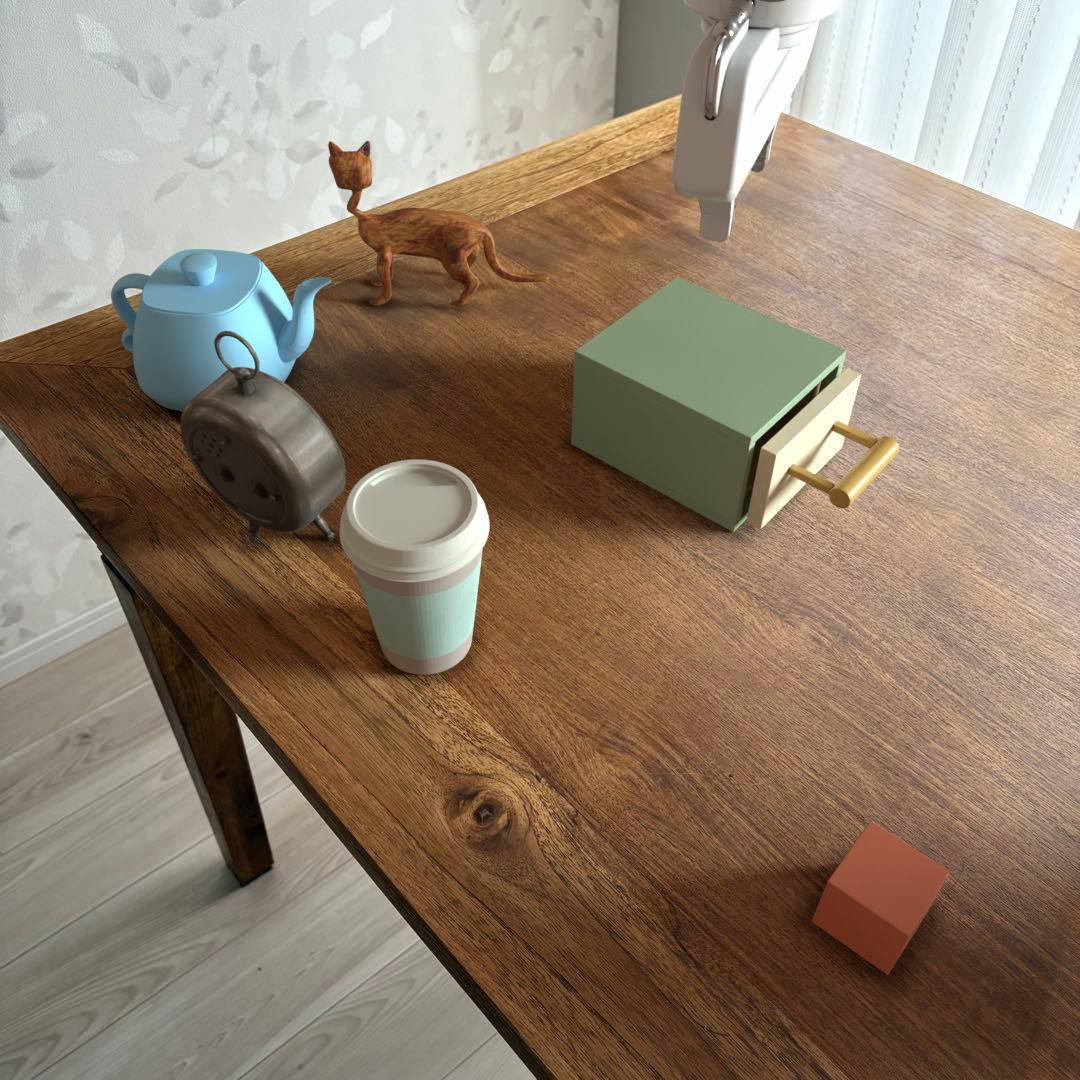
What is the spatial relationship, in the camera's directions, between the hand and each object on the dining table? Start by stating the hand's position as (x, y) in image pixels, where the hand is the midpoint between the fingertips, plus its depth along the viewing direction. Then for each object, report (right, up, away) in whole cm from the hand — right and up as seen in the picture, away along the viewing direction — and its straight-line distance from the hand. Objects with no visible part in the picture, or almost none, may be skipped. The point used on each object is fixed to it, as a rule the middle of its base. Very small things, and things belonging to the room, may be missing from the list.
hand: (735, 199), depth 71 cm
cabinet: (0, -14, +14) cm, 20 cm away
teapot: (-37, -9, +19) cm, 42 cm away
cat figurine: (-21, 0, +28) cm, 35 cm away
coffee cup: (-20, -28, 0) cm, 34 cm away
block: (+5, -41, -13) cm, 44 cm away
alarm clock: (-31, -21, +7) cm, 38 cm away
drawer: (+3, -16, +11) cm, 20 cm away
